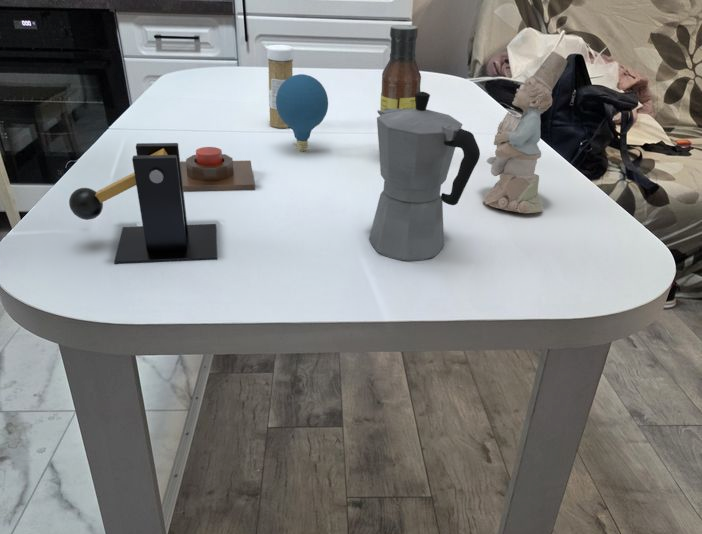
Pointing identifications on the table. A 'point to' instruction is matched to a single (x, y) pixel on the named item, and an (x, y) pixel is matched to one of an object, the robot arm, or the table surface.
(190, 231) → the lamp switch
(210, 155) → the lamp button
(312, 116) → the light bulb
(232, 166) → the button block
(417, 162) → the coffeepot
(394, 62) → the sauce bottle
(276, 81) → the sprinkles bottle
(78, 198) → the switch lever
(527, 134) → the figurine
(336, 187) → the table surface
